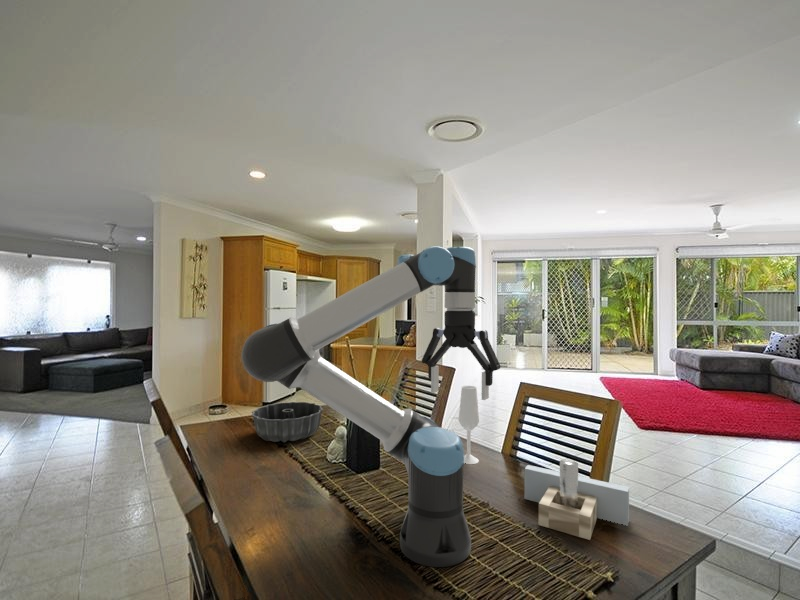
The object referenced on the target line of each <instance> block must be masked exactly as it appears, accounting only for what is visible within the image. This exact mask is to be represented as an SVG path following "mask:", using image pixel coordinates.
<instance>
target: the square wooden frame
mask: <svg viewBox="0 0 800 600" xmlns="http://www.w3.org/2000/svg"><path fill="white" fill-rule="evenodd" d="M597 519H598V518H597V497H594V496H590V495H586V494H582V493H578V509H575V508H572V507H568V506H564V505H560V488H557V487H553V486H549V488H548V489H547V491H546V493H545V494H544V496H543V497H542V499H541V501H540V502H539V503H538V526H541V527H545V528H548V529H552V530H554V531H558V532H562V533H564V534H567V535H571V536H575V537H578V538H582V539H585V540H589V541H591V538H592V535H593V531H594V528H595V526H596V522H597Z"/></svg>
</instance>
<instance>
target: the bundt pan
mask: <svg viewBox="0 0 800 600" xmlns="http://www.w3.org/2000/svg"><path fill="white" fill-rule="evenodd" d="M323 411H324V408H322V405H321V404H320V405H319V404H316V403H315V402H313V403H312V402H306V401H290V402H276V403H272V404H267V405H264V406H260V407H258V408H256V409H255V410H252V411H251V417H252V418H253V422H254V428H255V432H256V434H257V436H258V437H260V438H261V439H262V440H264V441H266V442H274V443H278V442H283V444H284V443H287V442H288V441H290V442H296V441H298V440H305V439H306V438H308V437H311V436H313V434H315V433H316V432H317V431H318V429H319V427H320V426H321V420H322V412H323Z"/></svg>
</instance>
